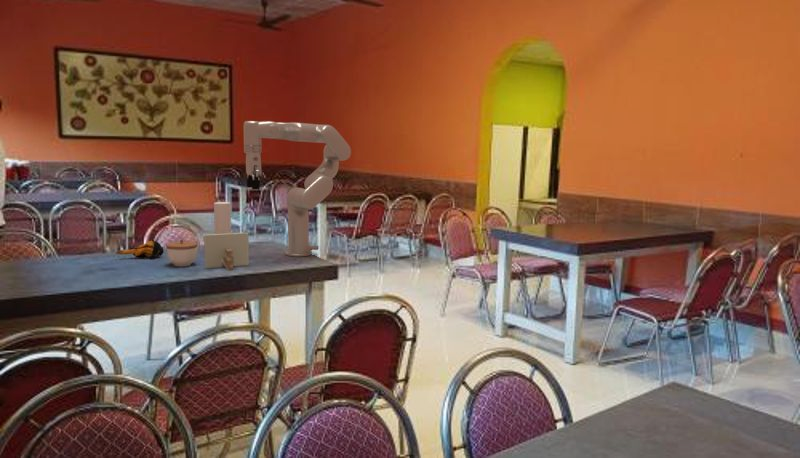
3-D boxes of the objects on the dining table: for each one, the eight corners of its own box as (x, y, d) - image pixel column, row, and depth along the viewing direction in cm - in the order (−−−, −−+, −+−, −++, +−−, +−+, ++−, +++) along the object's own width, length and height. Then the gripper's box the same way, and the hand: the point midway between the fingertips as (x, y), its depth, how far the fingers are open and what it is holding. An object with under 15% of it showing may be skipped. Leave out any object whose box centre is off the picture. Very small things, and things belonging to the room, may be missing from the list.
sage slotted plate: (247, 264, 267) (247, 232, 265) (248, 265, 265) (248, 233, 263) (205, 267, 259) (204, 234, 257) (205, 268, 257) (205, 235, 255)
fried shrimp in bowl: (168, 248, 273) (127, 239, 262) (158, 268, 276) (117, 260, 265) (164, 238, 280) (124, 228, 269) (154, 257, 283) (114, 249, 272)
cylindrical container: (233, 256, 283) (232, 202, 279) (227, 259, 276) (226, 204, 272) (218, 255, 284) (217, 201, 280) (212, 258, 277) (211, 203, 273)
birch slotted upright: (226, 262, 269) (225, 244, 268) (233, 269, 256) (232, 250, 255) (221, 262, 268) (221, 244, 267) (228, 270, 255) (227, 251, 254)
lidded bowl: (188, 268, 256) (187, 242, 254) (160, 266, 258) (159, 241, 256) (203, 262, 268) (202, 237, 266) (177, 260, 270) (176, 236, 269)
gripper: (266, 150, 264) (266, 189, 267) (256, 148, 279) (257, 186, 282) (248, 150, 261) (249, 190, 263) (239, 148, 276) (240, 186, 278)
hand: (253, 188), depth 272 cm, fingers open, 9 cm apart
